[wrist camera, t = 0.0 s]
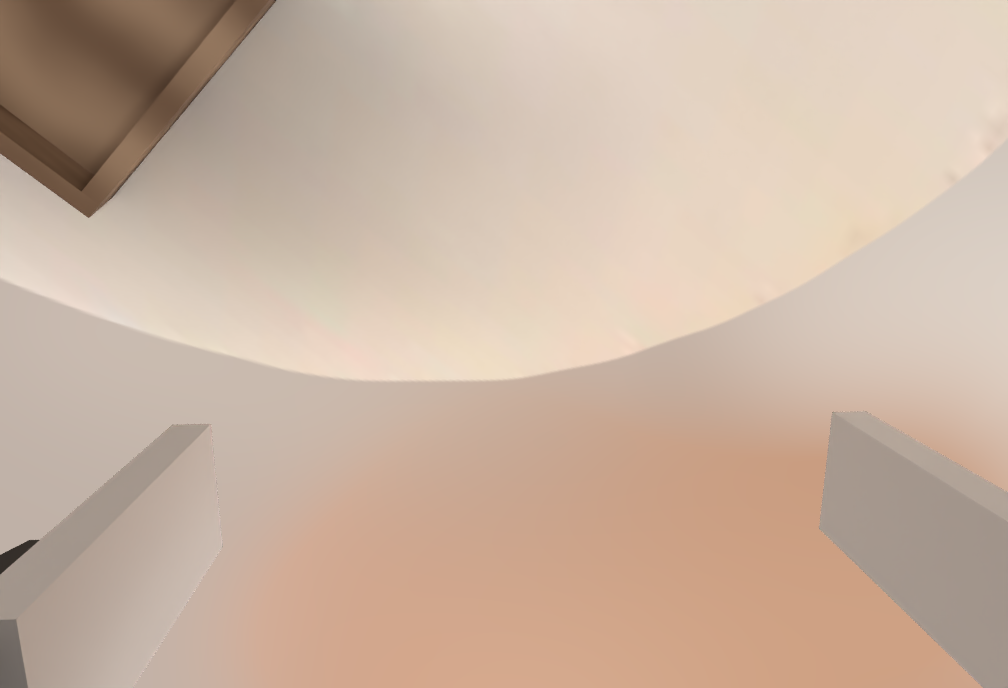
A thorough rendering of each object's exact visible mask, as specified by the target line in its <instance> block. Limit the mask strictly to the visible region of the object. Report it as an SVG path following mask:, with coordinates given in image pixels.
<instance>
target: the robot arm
mask: <svg viewBox="0 0 1008 688" xmlns="http://www.w3.org/2000/svg"><path fill="white" fill-rule="evenodd" d="M819 529H820V530H821V531H822V532H823V533H824V534H825V535H826V536H827V537H828V538H829V539H830V540H831V541H832V542H833V543H834V544H836V545H837V546H838V547H839V548H840V549H841V550H842V551H843V552H844V553H845V554H846V555H847V556H848V557H849V558H850V559H851V560H852V561H853V562H854V563H855V564H856V565H857V566H858V567H859V568H860V569H861V570H863V572H864V573H865V574H867V576H869V577H870V578H871V579H872V580H873V581H874V582H875V583H876V584H877V585H878V586H879V587H880V588H881V589H882V590H883V591H884V592H885V593H886V594H887V595H888V596H889V597H890V598H891V599H892V600H893V601H894V602H895V603H896V604H897V605H898V606H899V607H901V609H903V610H904V611H905V612H906V613H907V614H908V615H909V616H910V617H911V618H912V619H913V620H914V621H915V622H916V623H917V624H918V625H919V626H920V627H921V628H922V629H923V630H924V631H925V632H926V633H927V634H928V635H929V636H930V637H931V638H932V639H933V640H935V641H936V642H937V643H938V644H939V645H940V646H941V647H942V648H943V649H944V650H945V651H946V652H947V653H948V654H949V655H950V656H951V657H952V658H953V659H954V660H955V661H956V662H958V664H959V665H960V666H961V667H962V668H963V669H965V671H967V672H968V673H969V674H970V675H971V676H972V677H973V678H974V679H975V680H976V681H977V682H978V683H979V684H980V685H981V686H982V687H983V688H1008V492H1007V491H1004V490H1003V489H1001V488H1000V487H998V486H996V485H994V484H993V483H991V482H989V481H987V480H986V479H984V478H982V477H980V476H979V475H977V474H975V473H973V472H972V471H970V470H968V469H966V468H964V467H963V466H961V465H959V464H958V463H956V462H954V461H952V460H950V459H949V458H947V457H945V456H944V455H942V454H940V453H938V452H937V451H935V450H933V449H931V448H930V447H928V446H926V445H924V444H922V443H921V442H919V441H917V440H916V439H914V438H912V437H910V436H909V435H907V434H905V433H903V432H902V431H900V430H898V429H896V428H894V427H893V426H891V425H889V424H887V423H886V422H884V421H882V420H880V419H879V418H877V417H875V416H873V415H872V414H870V413H868V412H866V411H863V412H832V418H831V427H830V436H829V445H828V455H827V463H826V472H825V480H824V489H823V499H822V508H821V516H820V526H819ZM222 547H223V544H222V534H221V524H220V513H219V502H218V492H217V482H216V472H215V462H214V451H213V440H212V430H211V424H190V425H189V424H188V425H172V426H171V427H169V428H168V429H167V430H166V431H165V432H164V433H162V434H161V435H160V436H159V437H158V438H157V439H156V440H154V441H153V442H152V443H151V444H150V445H149V446H148V447H146V448H145V449H144V450H143V451H142V452H141V453H140V454H138V455H137V456H136V457H135V458H134V459H133V460H132V461H130V462H129V463H128V464H127V465H126V466H125V467H123V468H122V469H121V470H120V471H119V472H118V473H116V474H115V475H114V476H113V477H112V478H111V479H110V480H108V481H107V482H106V483H105V484H104V485H103V486H102V487H100V488H99V489H98V490H97V491H96V492H95V493H93V494H92V495H91V496H90V497H89V498H88V499H87V500H85V501H84V502H83V503H82V504H81V505H80V506H79V507H77V508H76V509H75V510H74V511H73V512H72V513H70V514H69V515H68V516H67V517H66V518H65V519H64V520H62V521H61V522H60V523H59V524H58V525H57V526H56V527H54V528H53V529H52V530H51V531H50V532H49V533H47V534H46V535H45V536H44V537H43V538H42V539H41V540H29V541H27V542H25V543H23V544H21V545H19V546H17V547H15V548H13V549H11V550H9V551H7V552H5V553H3V554H2V555H0V688H133V687H134V686H135V684H136V682H137V681H138V679H139V678H140V676H141V675H142V673H143V671H144V670H145V668H146V667H147V665H148V664H149V662H150V660H151V659H152V657H153V655H154V654H155V653H156V651H157V649H158V648H159V646H160V645H161V643H162V641H163V640H164V638H165V637H166V635H167V634H168V632H169V630H170V629H171V627H172V626H173V624H174V623H175V621H176V619H177V618H178V616H179V615H180V613H181V612H182V610H183V608H184V607H185V605H186V604H187V602H188V600H189V599H190V597H191V596H192V594H193V593H194V591H195V589H196V588H197V586H198V585H199V583H200V581H201V580H202V578H203V577H204V575H205V573H206V572H207V571H208V569H209V567H210V565H211V564H212V563H213V561H214V559H215V558H216V556H217V555H218V553H219V551H220V550H221V548H222Z"/></svg>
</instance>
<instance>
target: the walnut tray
mask: <svg viewBox="0 0 1008 688" xmlns="http://www.w3.org/2000/svg"><path fill="white" fill-rule="evenodd" d="M275 1H276V0H0V154H2V155H3V156H5V157H6V158H7V159H9V160H10V161H11V162H13V163H14V164H16V165H17V166H18V167H20V168H21V169H22V170H24V171H25V172H27V173H28V174H29V175H31V176H32V177H33V178H35V179H36V180H37V181H39V182H40V183H42V184H43V185H44V186H46V187H47V188H48V189H50V190H51V191H53V192H54V193H55V194H57V195H58V196H59V197H61V198H62V199H64V200H65V201H66V202H68V203H69V204H70V205H72V206H73V207H74V208H76V209H77V210H79V211H80V212H81V213H83V214H84V215H85V216H87V217H88V218H89V217H91V216H92V215H93V214H94V213H95V212H96V211H97V210H98V209H100V208H101V207H102V206H103V205H104V204H105V203H106V202H108V201H109V200H110V199H111V198H112V197H113V196H114V195H115V194H116V192H117V191H118V190H119V189H120V188H121V186H122V185H123V184H124V183H125V182H126V180H127V179H128V178H129V177H130V176H131V174H132V173H133V172H134V171H135V170H136V168H137V167H138V166H139V165H140V164H141V162H142V161H143V160H144V159H145V158H146V156H147V155H148V154H149V153H150V152H151V150H152V149H153V148H154V147H155V146H156V144H157V143H158V142H159V141H160V139H161V138H162V137H163V136H164V135H165V133H166V132H167V131H168V130H169V129H170V127H171V126H172V125H173V124H174V123H175V121H176V120H177V119H178V118H179V117H180V115H181V114H182V113H183V112H184V111H185V109H186V108H187V107H188V106H189V105H190V103H191V102H192V101H193V100H194V99H195V97H196V96H197V95H198V94H199V93H200V91H201V90H202V89H203V88H204V87H205V85H206V84H207V83H208V82H209V81H210V79H211V78H212V77H213V76H214V75H215V73H216V72H217V71H218V70H219V69H220V67H221V66H222V65H223V64H224V63H225V61H226V60H227V59H228V58H229V57H230V55H231V54H232V53H233V52H234V51H235V49H236V48H237V47H238V46H239V45H240V43H241V42H242V41H243V40H244V39H245V37H246V36H247V35H248V34H249V33H250V31H251V30H252V29H253V28H254V27H255V25H256V24H257V23H258V22H259V21H260V19H261V18H262V17H263V16H264V15H265V13H266V12H267V11H268V10H269V9H270V7H271V6H272V5H273V4H274V3H275Z"/></svg>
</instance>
